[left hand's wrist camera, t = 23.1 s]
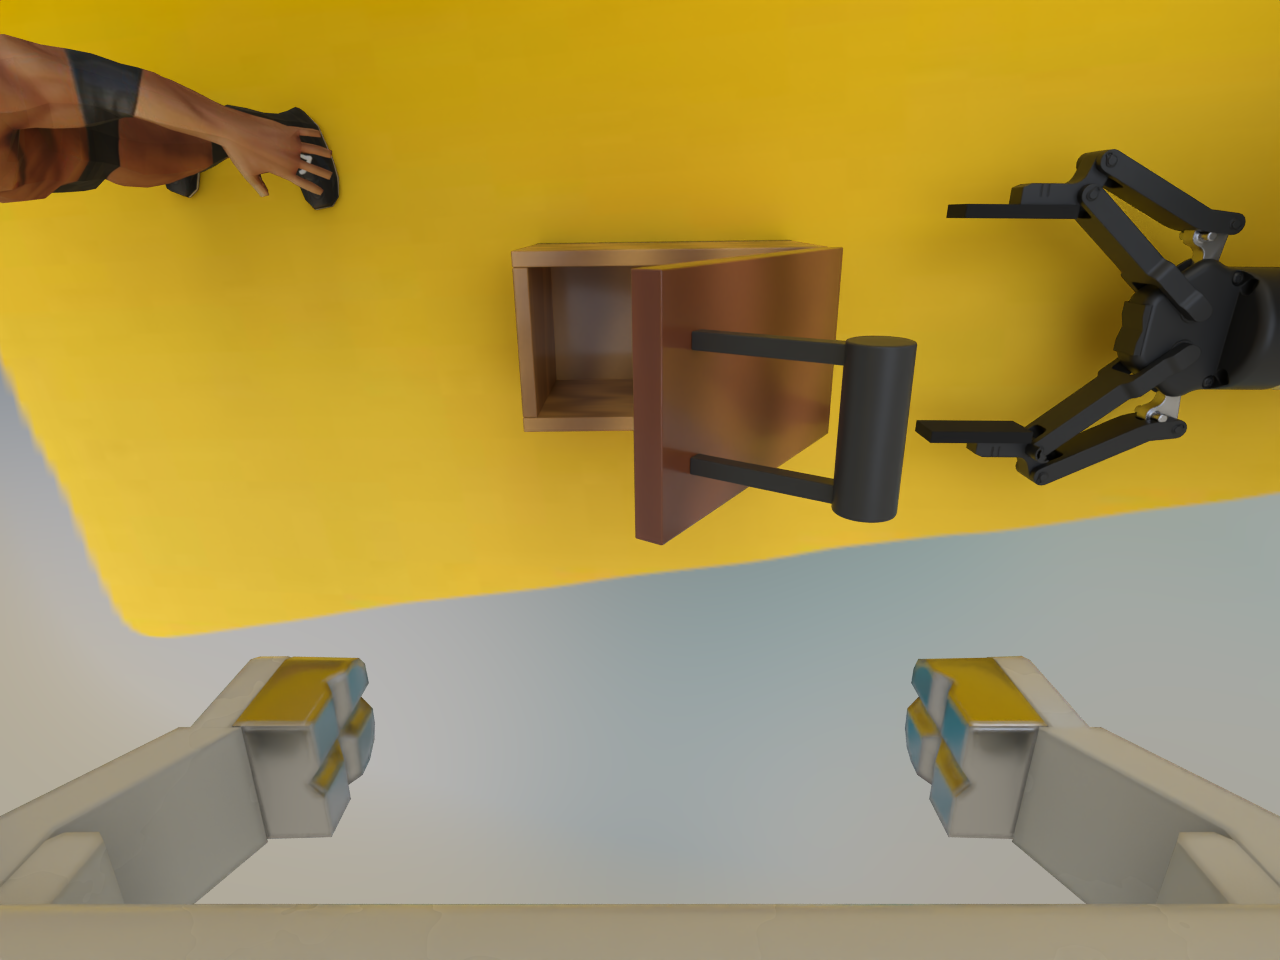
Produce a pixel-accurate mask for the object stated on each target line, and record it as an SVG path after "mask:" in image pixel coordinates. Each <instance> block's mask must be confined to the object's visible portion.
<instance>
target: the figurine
mask: <svg viewBox="0 0 1280 960" xmlns="http://www.w3.org/2000/svg"><path fill="white" fill-rule="evenodd" d="M331 155H332V151H331V150H329V149H328V147H327V144H326V142H325V140H324V137H323V135H322V133H321V130H320V128H319V126H318V125H317V124H316V123H315V122H314V121H313V120H312V119H311V118H310V117H309V116H308V115H307V114H306V113H305V112H304V111H302V110H301V109H299V108H297V107H294V108H292V109H290V110H288V111H285V112H282V113H279V114H274V113H263V112H259V111H255V110H251V109H248V108H243V107H237V106H231V105H225V106H223V105H221V104H218V103H216V102H214V101H212V100H210V99H209V98H207V97H205V96H203V95H201V94H199V93H197V92H195V91H193V90H191V89H189V88H187V87H185V86H183V85H181V84H178V83H176V82H174V81H172V80H170V79H167V78H164V77H162V76H160V75H158V74H156V73H154V72H151V71H147V70H144V69H141V68H137V67H133V66H129V65H124V64H120V63H117V62H114V61H112V60H109V59H106V58H103V57H100V56H97V55H94V54H91V53H86V52H81V51H76V50H71V49H66V48H59V47H53V46H46V45H40V44H37V43H33V42H30V41H26V40H23V39H19V38H16V37H12V36H9V35H5V34H0V202H1V203H8V202H18V201H28V200H36V199H44V198H46V197H47V196H49V195H50V194H51V193H60V192H76V191H86V190H91V189H96V188H97V187H98V186H99V185H100V184H101V183H102V182H103V181H104V180H105V179H106V180H109V181H111V182H113V183H115V184H119V185H122V186H132V187H153V186H158V185H164V184H166V187H167V189H169V190H170V191H172V192H175V193H178V194H180V195H183V196H186V197H189V198H190V197H191V196H192V195H193V194H194V193H195V192H196V191H197V190H198V188H199V177H200V172H204V171H206V170H208V169H210V168H212V167H214V166H216V165H217V164H219V163H220V162H222V161H224V160H225V159H227V158H230V159H231V161H232V162H233V164H234V165H235V166H236V167H237V169H238V170H239V171H240V173H241V174H242V175H243V176H244V178H245V179H246V180H247V181H248V182H249V183H250V184H251V185H252V186H253V187H254V189H255V190H256V191H257V192H258V193H259V195H260V196H261V197H263V196H267V195H269V193H268V189H267V187H266V185H265V183H264V182H263V181H262V178H261V174H263V173H268V172H270V173H272V174H275V175H277V176H280V177H282V178H284V179H287V180H289V181H291V182H293V183H294V184H296V185H298V186H299V187H300V188H301V190H302V193H303V195H304V197H305V200H306V201H307V202H308V203H309V204H310V205H311V206H312V207H313V208H314V209H315V210H318V209H323V208H327V207H332V206H334V204H335V202H336V200H337V199H338V197H339V177H338V174H337V171H336V167H335V164H334V160H333V158H332V156H331Z"/></svg>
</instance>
